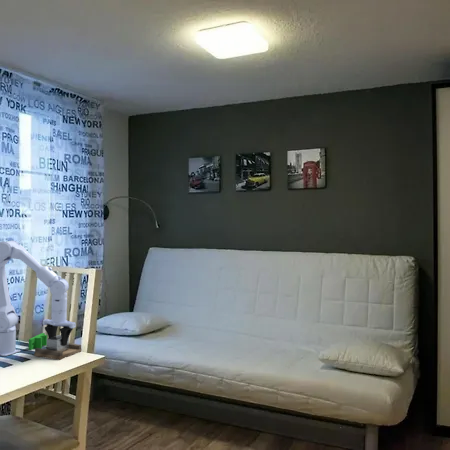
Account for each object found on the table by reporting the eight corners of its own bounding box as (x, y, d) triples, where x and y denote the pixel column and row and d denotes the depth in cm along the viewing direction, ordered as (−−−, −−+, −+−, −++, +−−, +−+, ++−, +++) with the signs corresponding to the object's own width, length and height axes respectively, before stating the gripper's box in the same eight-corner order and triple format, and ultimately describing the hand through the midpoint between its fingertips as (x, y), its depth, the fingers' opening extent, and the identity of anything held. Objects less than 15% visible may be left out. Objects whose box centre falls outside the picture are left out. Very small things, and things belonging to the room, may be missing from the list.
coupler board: (34, 355, 187) (34, 349, 187) (57, 348, 199) (57, 341, 199) (59, 359, 183) (59, 352, 183) (81, 351, 195) (81, 344, 195)
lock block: (46, 351, 188) (46, 338, 188) (58, 347, 195) (58, 334, 194) (56, 353, 186) (57, 339, 186) (68, 348, 193) (68, 335, 193)
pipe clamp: (37, 351, 195) (37, 339, 195) (28, 350, 195) (28, 339, 195) (50, 343, 206) (50, 333, 206) (42, 343, 207) (42, 332, 207)
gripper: (37, 310, 190) (36, 344, 190) (67, 313, 184) (66, 349, 184) (49, 307, 196) (49, 340, 196) (79, 310, 191) (78, 344, 191)
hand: (58, 344), depth 191 cm, fingers closed on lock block, 5 cm apart
